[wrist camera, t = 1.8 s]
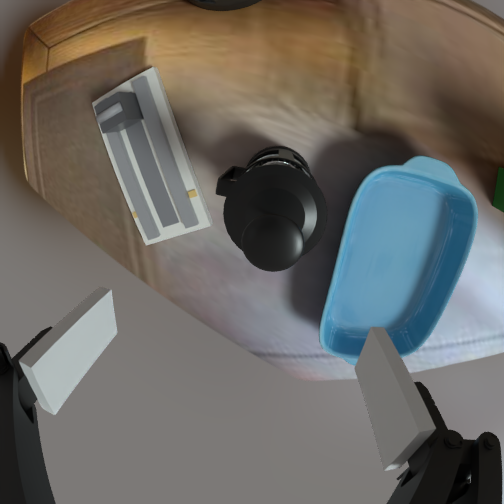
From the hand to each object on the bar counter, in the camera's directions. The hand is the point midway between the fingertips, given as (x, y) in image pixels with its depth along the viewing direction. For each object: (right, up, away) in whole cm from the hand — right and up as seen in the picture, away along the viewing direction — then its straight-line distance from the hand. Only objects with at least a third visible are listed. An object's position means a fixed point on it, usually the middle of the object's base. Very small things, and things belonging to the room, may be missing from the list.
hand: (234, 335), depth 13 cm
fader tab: (-17, +25, +21) cm, 37 cm away
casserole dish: (+24, +3, +30) cm, 38 cm away
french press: (+4, +15, +26) cm, 30 cm away
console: (-15, +18, +26) cm, 35 cm away
